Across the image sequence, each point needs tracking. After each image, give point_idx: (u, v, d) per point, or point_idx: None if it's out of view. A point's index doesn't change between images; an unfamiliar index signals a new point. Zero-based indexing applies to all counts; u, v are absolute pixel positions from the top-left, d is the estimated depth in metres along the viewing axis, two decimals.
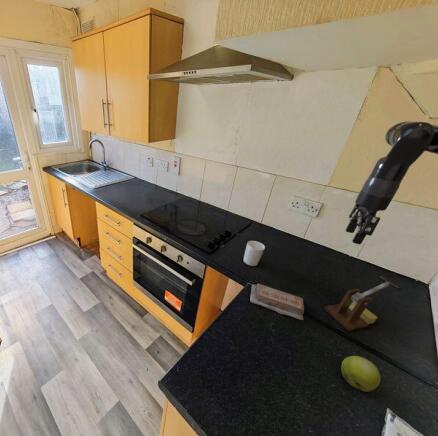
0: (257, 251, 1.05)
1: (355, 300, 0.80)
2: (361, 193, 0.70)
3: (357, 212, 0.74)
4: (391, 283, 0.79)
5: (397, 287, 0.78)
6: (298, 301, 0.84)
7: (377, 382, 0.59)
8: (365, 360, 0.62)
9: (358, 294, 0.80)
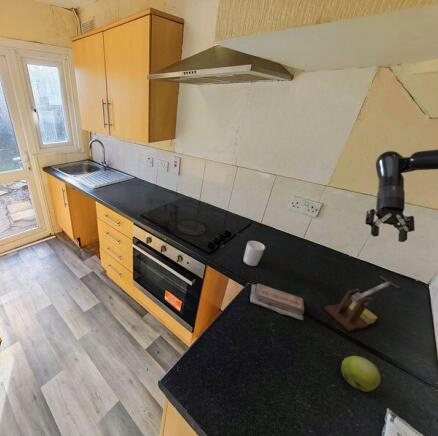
0: (257, 251, 1.05)
1: (355, 300, 0.80)
2: None
3: None
4: (391, 283, 0.79)
5: (397, 287, 0.78)
6: (298, 301, 0.84)
7: (377, 382, 0.59)
8: (365, 360, 0.62)
9: (358, 294, 0.80)
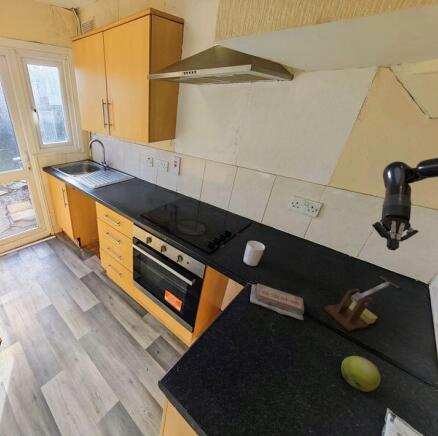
0: (257, 251, 1.05)
1: (355, 300, 0.80)
2: None
3: None
4: (391, 283, 0.79)
5: (397, 287, 0.78)
6: (298, 301, 0.84)
7: (377, 382, 0.59)
8: (365, 360, 0.62)
9: (358, 294, 0.80)
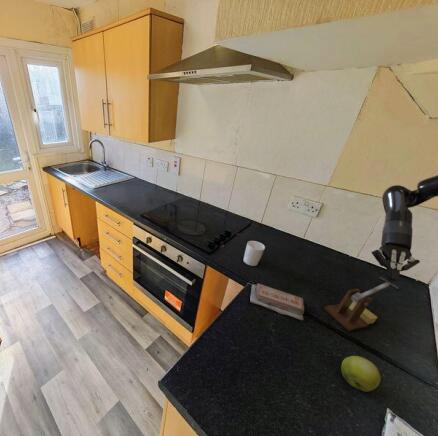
0: (257, 251, 1.05)
1: (355, 300, 0.80)
2: None
3: None
4: (391, 284, 0.80)
5: (397, 288, 0.78)
6: (298, 301, 0.84)
7: (377, 382, 0.59)
8: (365, 360, 0.62)
9: (358, 294, 0.80)
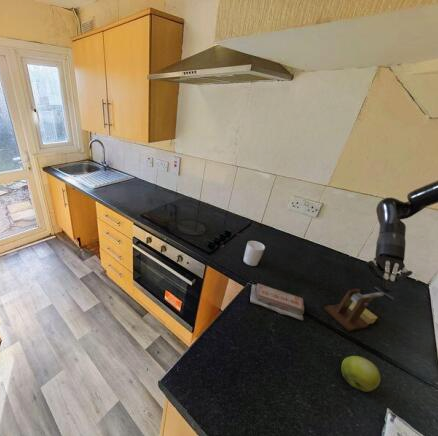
0: (257, 251, 1.05)
1: (356, 299, 0.79)
2: None
3: None
4: (386, 293, 0.82)
5: (392, 297, 0.80)
6: (298, 301, 0.84)
7: (377, 382, 0.59)
8: (365, 360, 0.62)
9: (359, 294, 0.80)
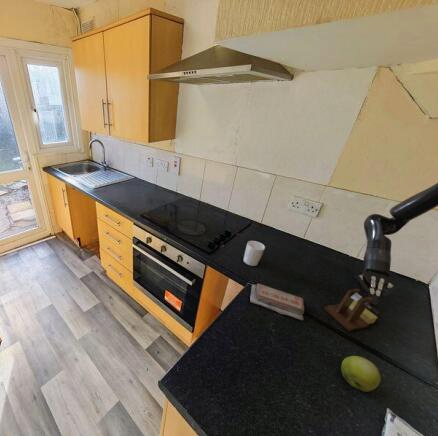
0: (257, 251, 1.05)
1: (357, 297, 0.79)
2: None
3: None
4: (373, 307, 0.85)
5: (378, 311, 0.83)
6: (298, 301, 0.84)
7: (377, 382, 0.59)
8: (365, 360, 0.62)
9: (359, 295, 0.80)
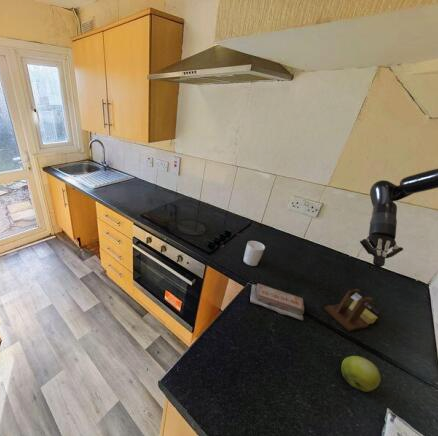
0: (257, 251, 1.05)
1: (357, 297, 0.79)
2: None
3: None
4: (373, 307, 0.85)
5: (378, 311, 0.83)
6: (298, 301, 0.84)
7: (377, 382, 0.59)
8: (365, 360, 0.62)
9: (359, 295, 0.80)
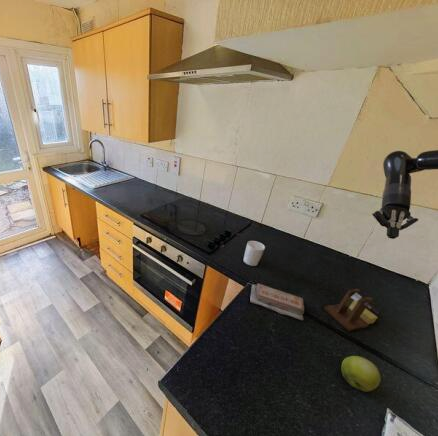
0: (257, 251, 1.05)
1: (357, 297, 0.79)
2: None
3: None
4: (373, 307, 0.85)
5: (378, 311, 0.83)
6: (298, 301, 0.84)
7: (377, 382, 0.59)
8: (365, 360, 0.62)
9: (359, 295, 0.80)
